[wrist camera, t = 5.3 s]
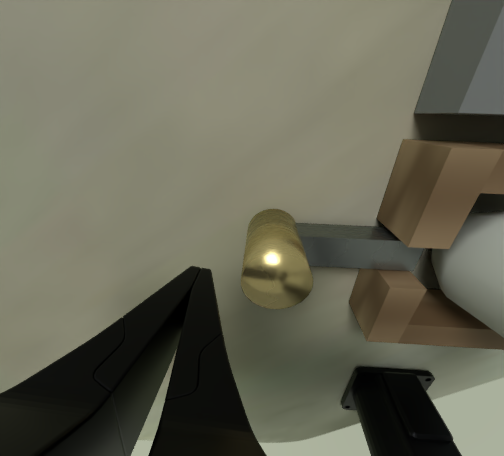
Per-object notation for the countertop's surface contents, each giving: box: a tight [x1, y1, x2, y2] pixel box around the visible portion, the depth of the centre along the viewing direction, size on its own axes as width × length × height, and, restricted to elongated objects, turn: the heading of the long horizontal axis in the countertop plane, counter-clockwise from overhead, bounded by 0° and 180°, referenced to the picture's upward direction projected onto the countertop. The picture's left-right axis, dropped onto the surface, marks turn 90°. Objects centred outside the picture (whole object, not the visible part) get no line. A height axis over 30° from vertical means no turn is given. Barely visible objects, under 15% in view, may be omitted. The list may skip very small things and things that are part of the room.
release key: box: [241, 209, 424, 309], centre depth 11 cm, size 3×9×4 cm, turn 88°
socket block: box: [349, 139, 504, 350], centre depth 11 cm, size 11×11×3 cm
